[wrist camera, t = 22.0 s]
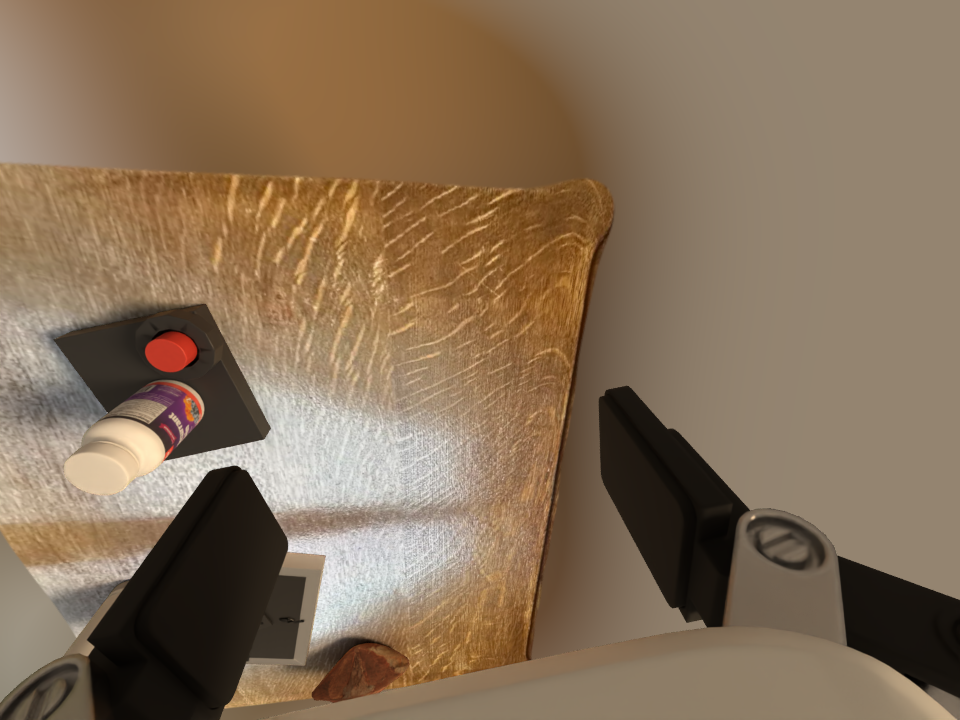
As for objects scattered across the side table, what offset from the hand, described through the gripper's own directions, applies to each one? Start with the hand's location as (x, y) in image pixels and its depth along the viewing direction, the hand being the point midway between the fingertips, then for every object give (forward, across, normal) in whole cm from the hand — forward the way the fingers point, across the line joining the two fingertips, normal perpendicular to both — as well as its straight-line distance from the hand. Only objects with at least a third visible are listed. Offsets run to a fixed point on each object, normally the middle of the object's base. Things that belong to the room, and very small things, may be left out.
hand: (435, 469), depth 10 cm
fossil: (+27, +23, +56) cm, 67 cm away
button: (+25, +23, +3) cm, 34 cm away
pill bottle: (+26, +27, +8) cm, 38 cm away
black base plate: (+28, +27, +8) cm, 39 cm away
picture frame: (+28, +33, +41) cm, 59 cm away
